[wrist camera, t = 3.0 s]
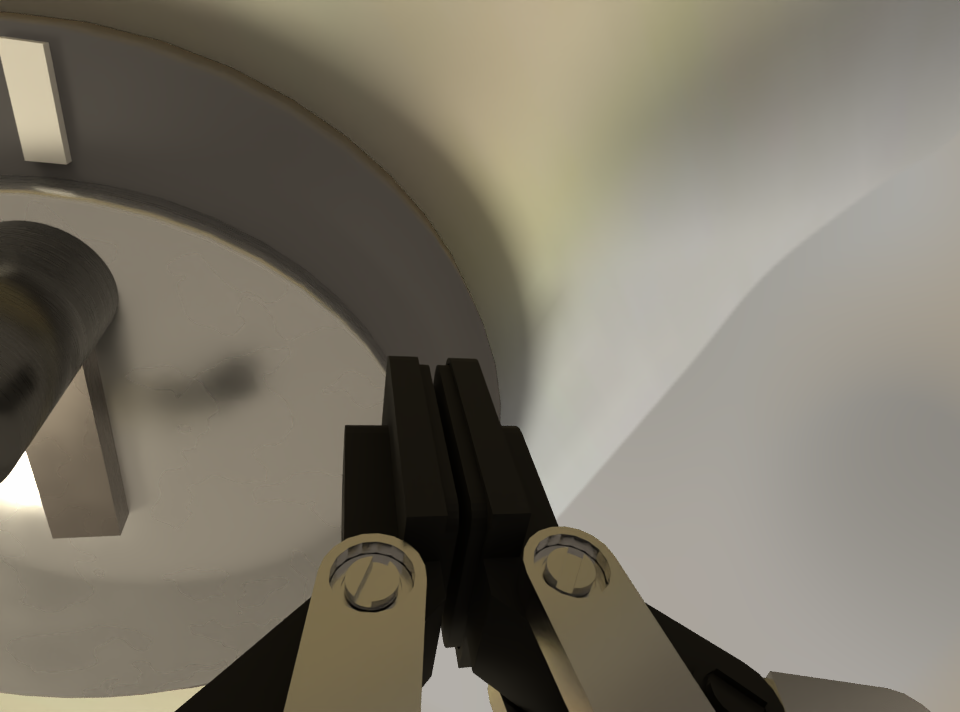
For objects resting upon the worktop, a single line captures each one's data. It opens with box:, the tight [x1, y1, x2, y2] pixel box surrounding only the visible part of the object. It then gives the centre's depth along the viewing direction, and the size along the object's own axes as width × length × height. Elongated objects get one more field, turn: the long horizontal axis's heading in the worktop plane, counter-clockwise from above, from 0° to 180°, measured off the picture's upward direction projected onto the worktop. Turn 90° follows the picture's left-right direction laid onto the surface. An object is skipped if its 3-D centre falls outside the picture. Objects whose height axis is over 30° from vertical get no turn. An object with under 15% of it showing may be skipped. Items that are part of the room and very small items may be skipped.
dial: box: [0, 175, 387, 698], centre depth 15 cm, size 18×18×6 cm
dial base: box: [0, 12, 501, 689], centre depth 19 cm, size 24×24×2 cm
